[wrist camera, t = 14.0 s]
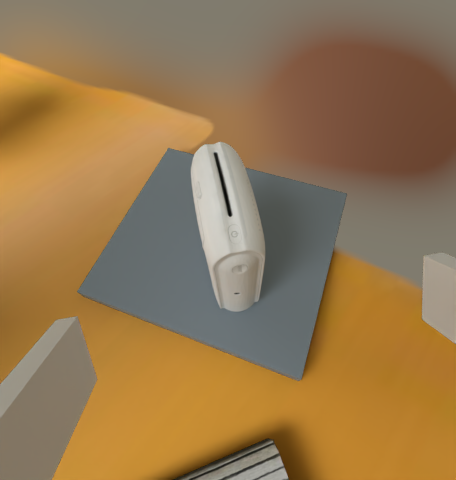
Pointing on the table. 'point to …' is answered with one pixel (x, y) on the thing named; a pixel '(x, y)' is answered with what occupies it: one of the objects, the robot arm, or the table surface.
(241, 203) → the photo printer
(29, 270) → the table surface
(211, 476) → the mat
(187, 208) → the slate board
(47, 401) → the robot arm
